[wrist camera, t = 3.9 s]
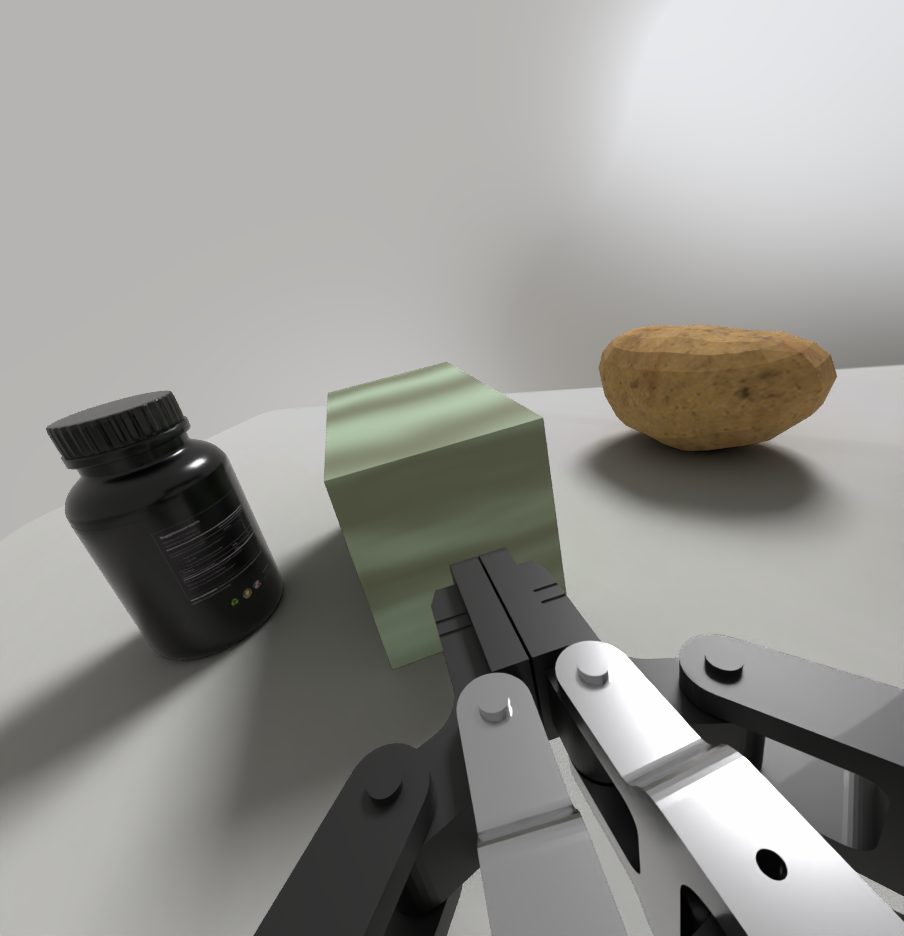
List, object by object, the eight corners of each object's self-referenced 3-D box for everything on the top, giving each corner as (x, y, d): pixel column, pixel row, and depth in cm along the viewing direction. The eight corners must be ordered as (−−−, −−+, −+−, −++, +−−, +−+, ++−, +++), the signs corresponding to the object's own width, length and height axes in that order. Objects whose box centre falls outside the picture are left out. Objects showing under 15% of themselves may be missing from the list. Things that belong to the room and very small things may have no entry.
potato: (767, 504, 23) (781, 350, 20) (574, 444, 35) (564, 342, 32) (861, 440, 27) (885, 302, 24) (658, 406, 39) (656, 310, 35)
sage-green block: (568, 608, 20) (543, 417, 16) (393, 671, 19) (323, 481, 15) (471, 480, 33) (446, 361, 30) (367, 512, 32) (327, 392, 28)
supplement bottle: (128, 649, 23) (-15, 438, 19) (236, 567, 29) (146, 387, 24) (207, 683, 20) (57, 435, 15) (312, 583, 25) (226, 377, 20)
